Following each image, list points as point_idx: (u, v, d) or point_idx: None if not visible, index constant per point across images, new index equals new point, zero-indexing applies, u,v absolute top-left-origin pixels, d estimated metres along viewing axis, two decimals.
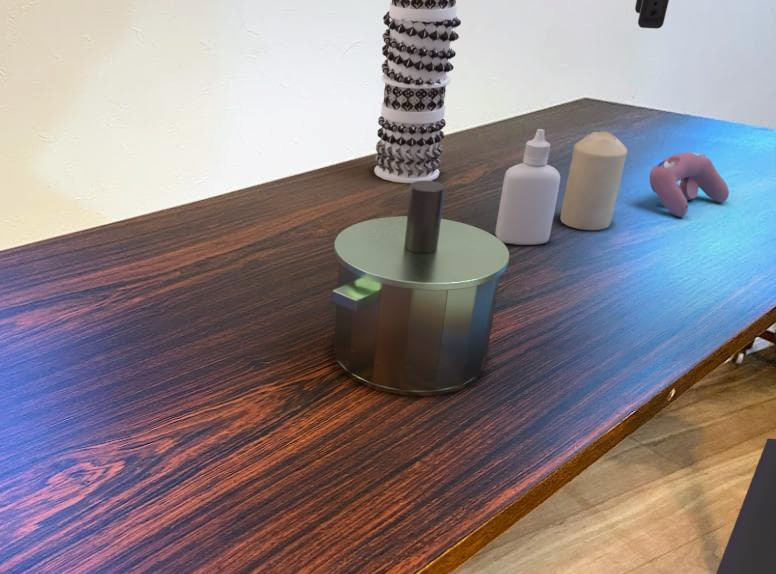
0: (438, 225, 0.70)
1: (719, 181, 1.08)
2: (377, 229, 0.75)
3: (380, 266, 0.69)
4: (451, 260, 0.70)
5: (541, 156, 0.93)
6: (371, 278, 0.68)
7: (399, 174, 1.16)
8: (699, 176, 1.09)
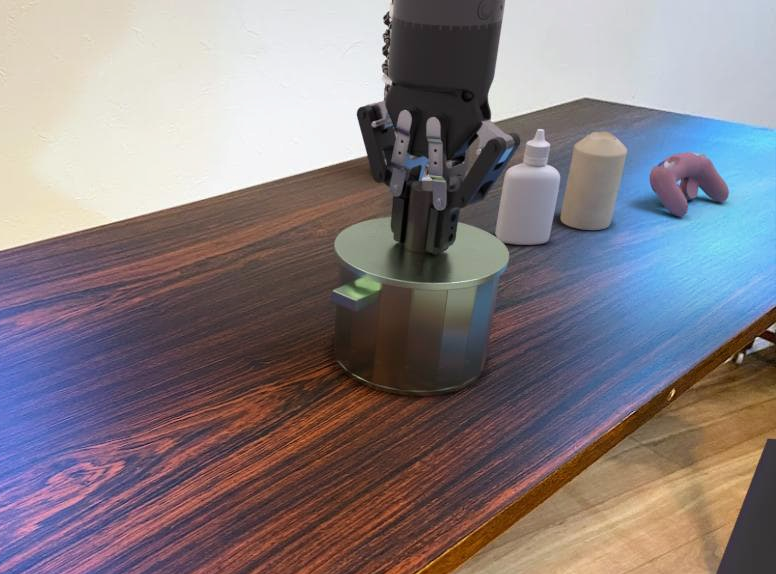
0: None
1: (719, 181, 1.08)
2: (377, 229, 0.75)
3: (380, 266, 0.69)
4: (451, 260, 0.70)
5: (541, 156, 0.93)
6: (371, 278, 0.68)
7: None
8: (699, 176, 1.09)
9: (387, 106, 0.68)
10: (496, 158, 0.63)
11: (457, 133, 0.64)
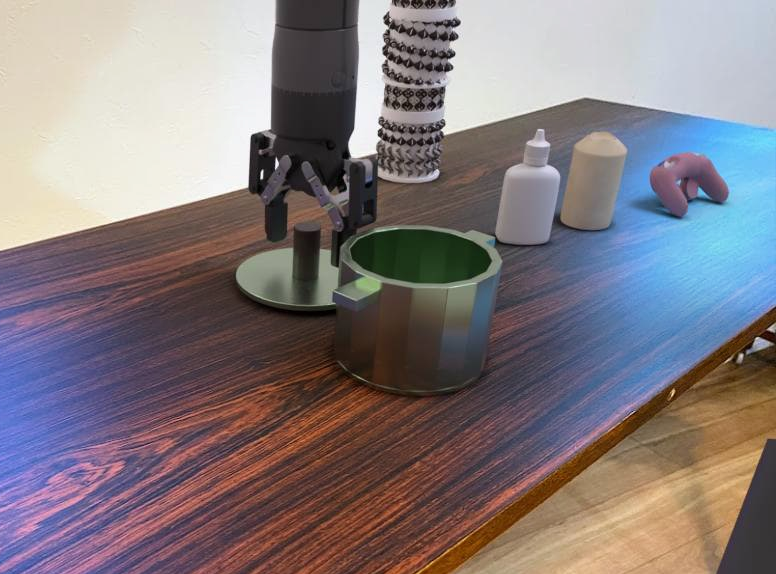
0: (317, 257, 0.87)
1: (719, 181, 1.08)
2: (274, 259, 0.92)
3: (268, 291, 0.86)
4: (327, 286, 0.87)
5: (541, 156, 0.93)
6: (260, 301, 0.85)
7: (399, 174, 1.16)
8: (699, 176, 1.09)
9: (273, 147, 0.84)
10: (360, 176, 0.78)
11: (325, 174, 0.81)
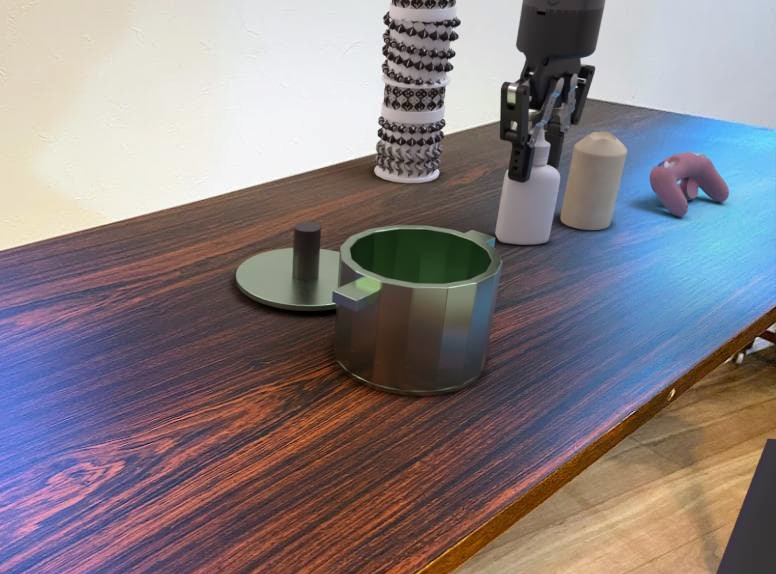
0: (317, 257, 0.87)
1: (719, 181, 1.08)
2: (274, 259, 0.92)
3: (268, 291, 0.86)
4: (327, 286, 0.87)
5: (541, 156, 0.93)
6: (260, 301, 0.85)
7: (399, 174, 1.16)
8: (699, 176, 1.09)
9: (539, 82, 0.87)
10: (592, 77, 0.94)
11: None
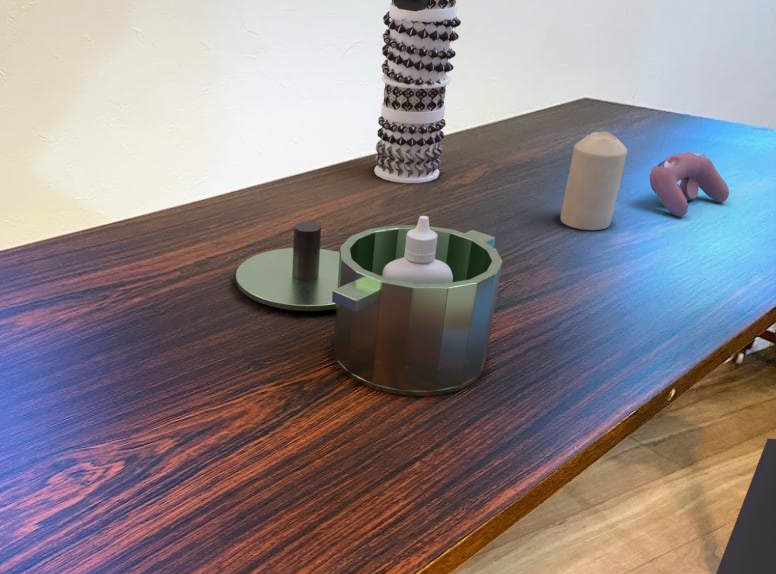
0: (317, 257, 0.87)
1: (719, 181, 1.08)
2: (274, 259, 0.92)
3: (268, 291, 0.86)
4: (327, 286, 0.87)
5: (425, 251, 0.71)
6: (260, 301, 0.85)
7: (399, 174, 1.16)
8: (699, 176, 1.09)
9: None
10: None
11: None
